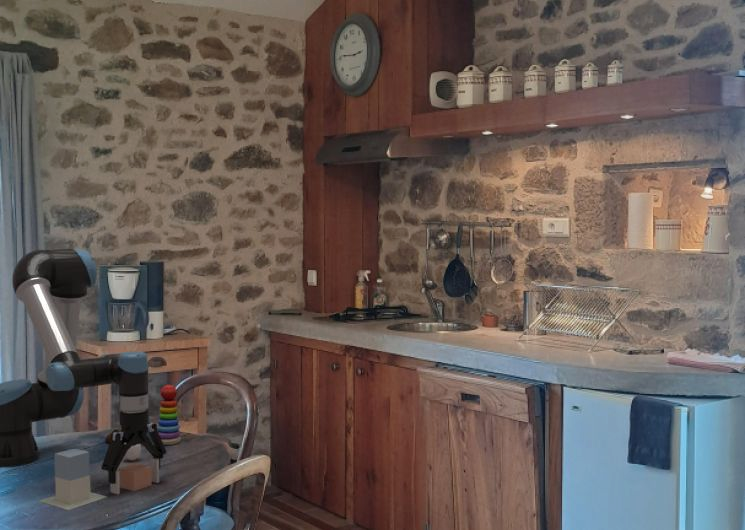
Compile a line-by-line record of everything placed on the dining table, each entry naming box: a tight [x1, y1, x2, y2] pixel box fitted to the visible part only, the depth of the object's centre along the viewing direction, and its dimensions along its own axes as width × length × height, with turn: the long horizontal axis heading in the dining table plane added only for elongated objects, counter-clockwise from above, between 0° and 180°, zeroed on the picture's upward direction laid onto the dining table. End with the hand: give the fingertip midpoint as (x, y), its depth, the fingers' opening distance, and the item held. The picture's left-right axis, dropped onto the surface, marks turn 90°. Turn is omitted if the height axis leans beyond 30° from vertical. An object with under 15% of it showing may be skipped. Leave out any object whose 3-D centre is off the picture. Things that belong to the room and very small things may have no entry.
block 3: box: [118, 462, 153, 492], centre depth 234 cm, size 6×6×6 cm
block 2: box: [54, 474, 91, 504], centre depth 223 cm, size 6×6×6 cm
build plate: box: [39, 491, 108, 511], centre depth 224 cm, size 12×12×1 cm
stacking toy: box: [157, 384, 182, 446], centre depth 281 cm, size 8×8×19 cm
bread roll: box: [104, 428, 122, 445], centre depth 283 cm, size 11×11×5 cm
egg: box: [124, 443, 142, 461], centre depth 261 cm, size 5×5×7 cm
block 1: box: [54, 448, 91, 481], centre depth 223 cm, size 6×6×6 cm
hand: (135, 488), depth 234 cm, fingers open, 13 cm apart
